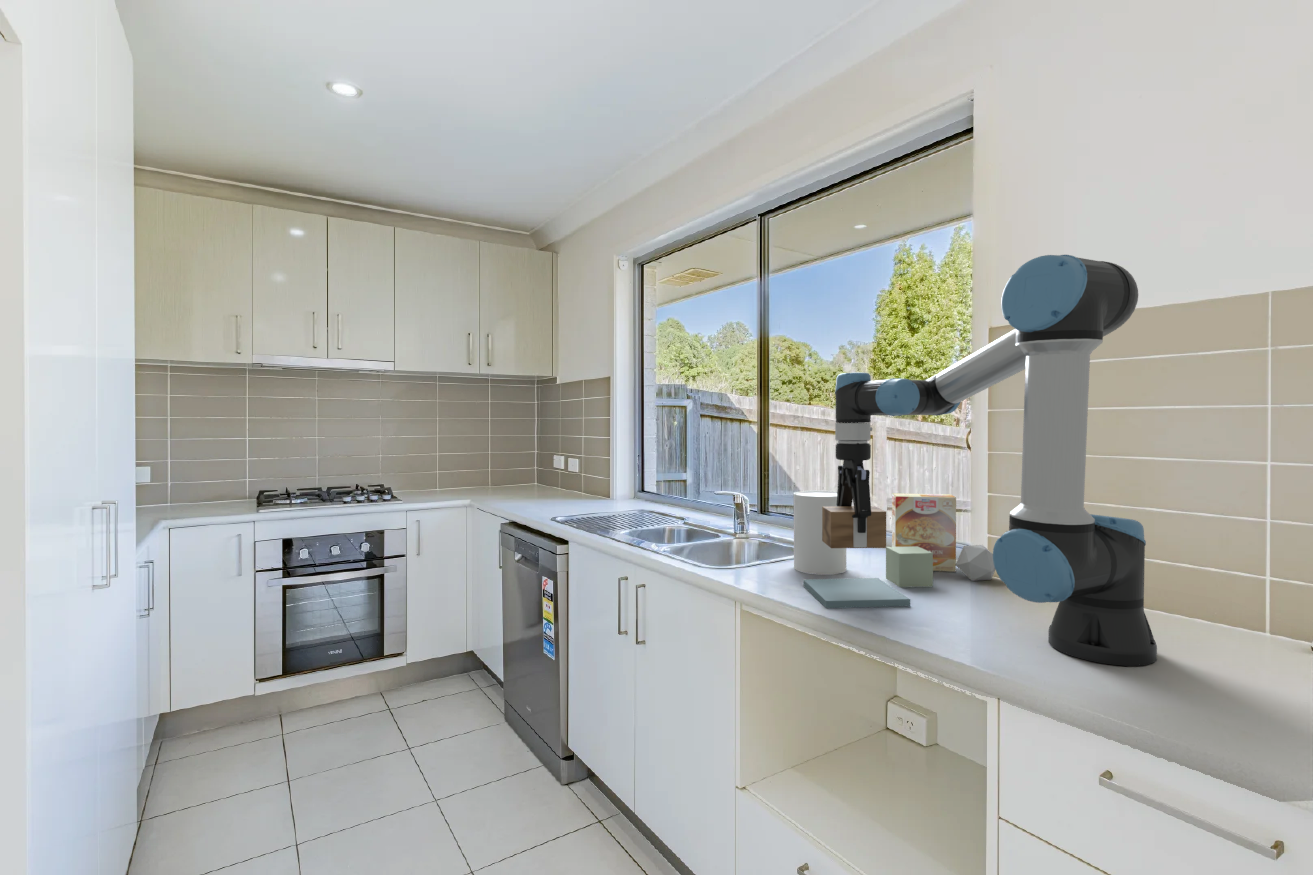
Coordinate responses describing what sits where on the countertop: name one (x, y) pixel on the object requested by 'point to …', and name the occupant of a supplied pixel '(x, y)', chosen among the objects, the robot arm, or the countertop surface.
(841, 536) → the walnut block
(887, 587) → the base board
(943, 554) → the coffeecake box
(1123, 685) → the countertop surface
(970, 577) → the die
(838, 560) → the canister
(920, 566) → the sage block
